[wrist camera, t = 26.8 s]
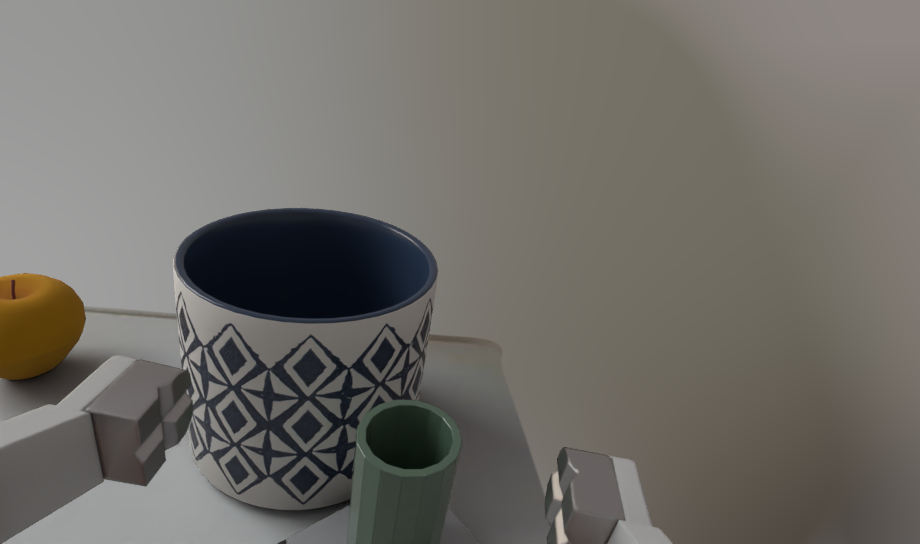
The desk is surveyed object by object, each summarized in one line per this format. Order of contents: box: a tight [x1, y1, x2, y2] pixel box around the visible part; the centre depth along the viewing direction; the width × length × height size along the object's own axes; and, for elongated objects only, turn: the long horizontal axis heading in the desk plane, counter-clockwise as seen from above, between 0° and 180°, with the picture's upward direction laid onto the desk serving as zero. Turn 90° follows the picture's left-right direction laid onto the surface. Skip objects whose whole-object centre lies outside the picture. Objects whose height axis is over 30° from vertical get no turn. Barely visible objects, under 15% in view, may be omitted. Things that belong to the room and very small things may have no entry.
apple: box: [0, 273, 86, 380], centre depth 44 cm, size 9×9×9 cm
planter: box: [173, 208, 438, 510], centre depth 42 cm, size 18×18×16 cm
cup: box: [346, 400, 462, 544], centre depth 30 cm, size 6×6×10 cm
